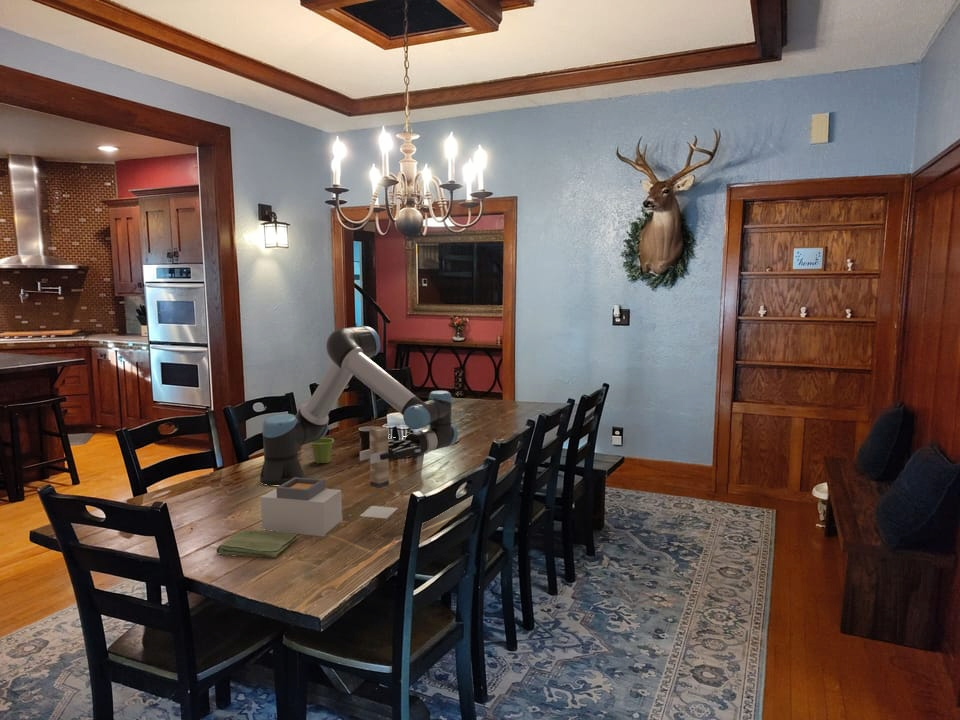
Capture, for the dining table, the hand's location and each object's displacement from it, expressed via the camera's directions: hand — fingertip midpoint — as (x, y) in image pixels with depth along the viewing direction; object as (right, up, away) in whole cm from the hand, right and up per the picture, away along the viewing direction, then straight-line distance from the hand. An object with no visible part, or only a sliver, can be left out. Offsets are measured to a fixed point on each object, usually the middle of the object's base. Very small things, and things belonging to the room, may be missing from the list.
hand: (365, 457), depth 187 cm
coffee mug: (-13, -10, +80) cm, 82 cm away
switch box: (-18, -20, -3) cm, 27 cm away
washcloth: (-26, -22, -17) cm, 39 cm away
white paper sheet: (+3, -18, +7) cm, 20 cm away
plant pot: (-29, -12, +64) cm, 71 cm away
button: (-18, -11, -4) cm, 21 cm away
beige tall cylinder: (+3, -9, +5) cm, 11 cm away
